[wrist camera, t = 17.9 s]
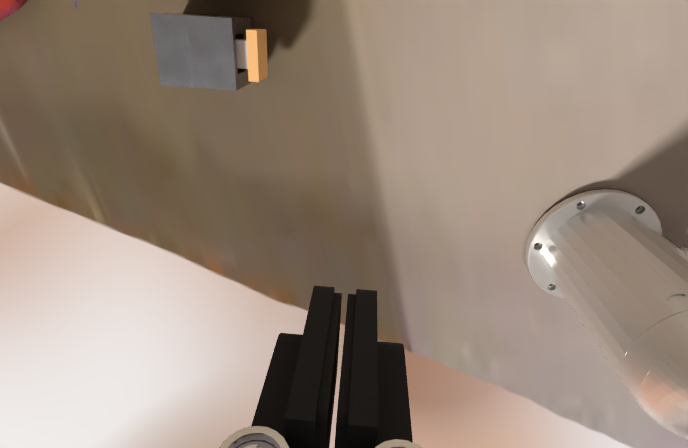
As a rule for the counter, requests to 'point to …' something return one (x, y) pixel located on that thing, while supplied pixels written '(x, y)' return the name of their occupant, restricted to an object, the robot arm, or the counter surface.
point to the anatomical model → (11, 7)
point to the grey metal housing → (199, 50)
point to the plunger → (253, 54)
